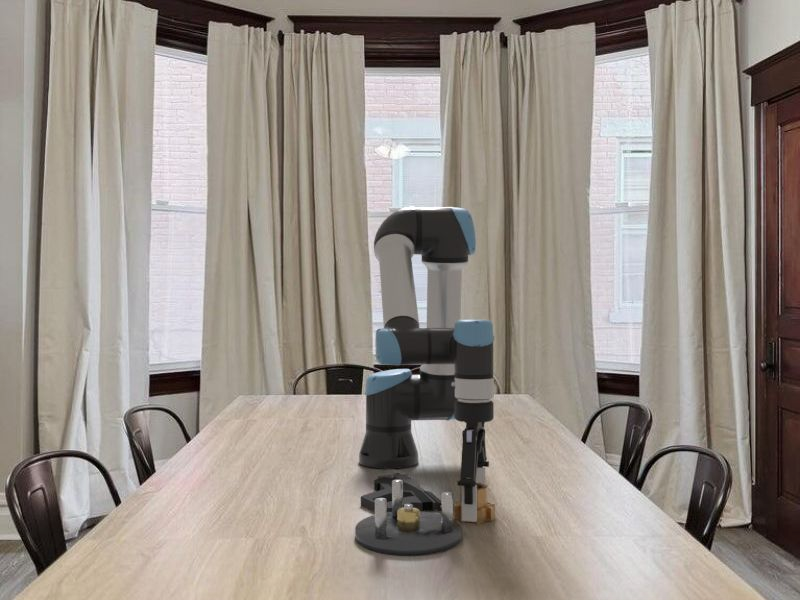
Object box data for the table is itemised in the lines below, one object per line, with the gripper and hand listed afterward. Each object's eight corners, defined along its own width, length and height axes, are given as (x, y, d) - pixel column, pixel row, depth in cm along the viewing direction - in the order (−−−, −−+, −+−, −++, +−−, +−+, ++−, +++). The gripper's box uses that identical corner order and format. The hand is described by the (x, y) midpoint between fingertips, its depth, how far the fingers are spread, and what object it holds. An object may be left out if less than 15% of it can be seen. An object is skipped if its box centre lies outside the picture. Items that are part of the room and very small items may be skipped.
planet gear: (457, 509, 141) (457, 479, 141) (496, 512, 139) (496, 482, 139) (450, 522, 134) (450, 490, 134) (492, 525, 132) (492, 493, 132)
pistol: (370, 509, 136) (444, 502, 140) (344, 475, 160) (408, 470, 164) (370, 521, 136) (444, 514, 140) (345, 485, 160) (408, 480, 164)
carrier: (371, 515, 138) (371, 474, 138) (468, 522, 133) (468, 480, 133) (341, 550, 119) (340, 503, 119) (452, 560, 115) (452, 511, 115)
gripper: (463, 390, 149) (464, 491, 149) (443, 408, 125) (443, 529, 125) (499, 391, 147) (500, 493, 147) (485, 410, 123) (486, 532, 123)
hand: (474, 510), depth 136 cm, fingers open, 13 cm apart
